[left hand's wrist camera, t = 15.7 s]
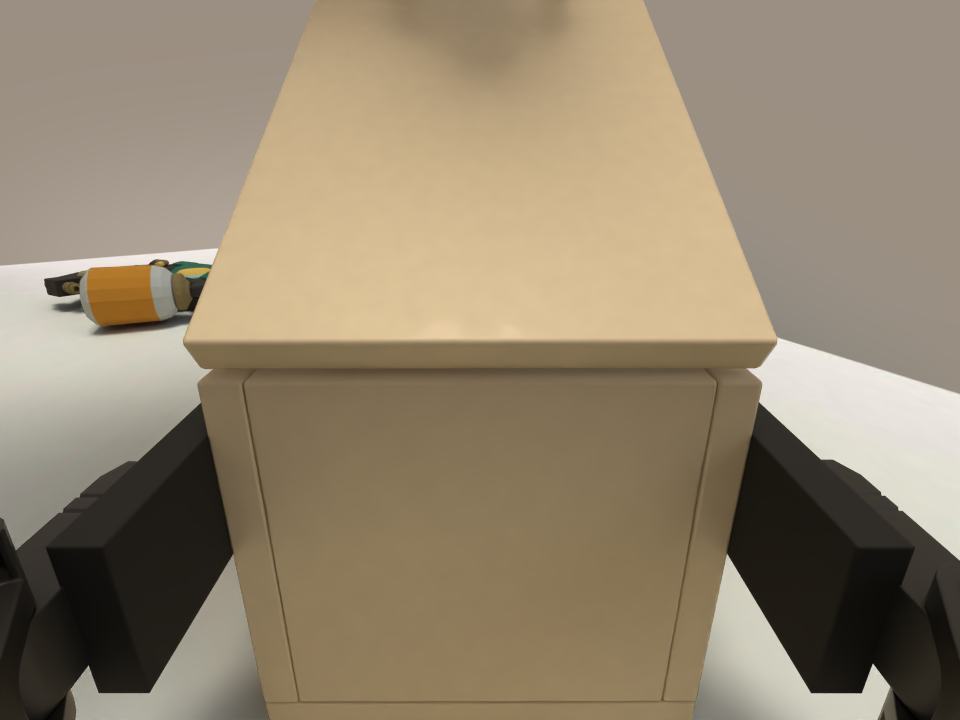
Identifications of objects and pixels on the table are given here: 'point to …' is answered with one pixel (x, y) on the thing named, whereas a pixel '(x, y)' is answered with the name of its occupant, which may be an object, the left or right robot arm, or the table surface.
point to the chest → (480, 535)
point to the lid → (479, 202)
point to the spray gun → (133, 290)
